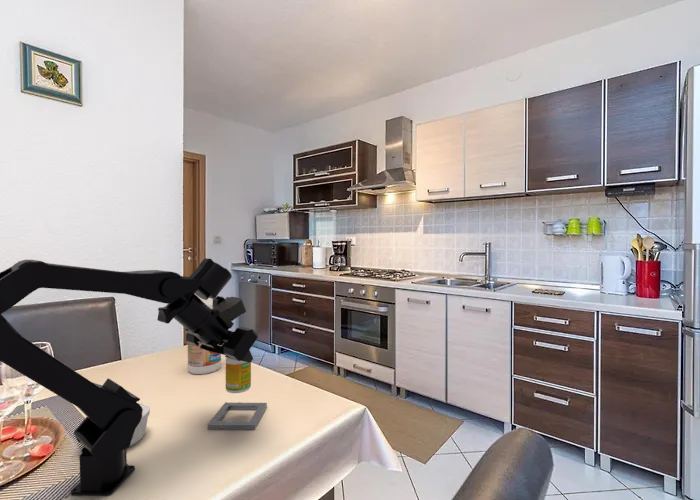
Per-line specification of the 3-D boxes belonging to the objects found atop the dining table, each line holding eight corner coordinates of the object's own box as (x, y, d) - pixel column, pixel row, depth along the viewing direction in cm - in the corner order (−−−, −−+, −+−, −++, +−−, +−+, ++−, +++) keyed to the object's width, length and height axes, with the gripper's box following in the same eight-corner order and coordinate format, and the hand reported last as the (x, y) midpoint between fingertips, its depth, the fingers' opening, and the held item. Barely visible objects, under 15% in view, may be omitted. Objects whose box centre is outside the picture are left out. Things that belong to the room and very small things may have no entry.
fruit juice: (191, 365, 112) (189, 277, 111) (222, 362, 114) (221, 276, 113) (184, 376, 103) (183, 280, 102) (219, 373, 105) (217, 279, 104)
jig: (254, 429, 74) (254, 425, 74) (207, 429, 74) (207, 424, 74) (266, 406, 84) (266, 402, 84) (225, 406, 84) (225, 402, 84)
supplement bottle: (243, 395, 75) (243, 349, 75) (220, 392, 76) (220, 348, 76) (255, 385, 81) (255, 342, 80) (233, 383, 82) (233, 341, 82)
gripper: (250, 289, 69) (291, 334, 78) (198, 282, 81) (239, 322, 90) (213, 338, 63) (262, 380, 72) (163, 323, 74) (211, 361, 83)
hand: (243, 357), depth 80 cm, fingers closed on supplement bottle, 5 cm apart
